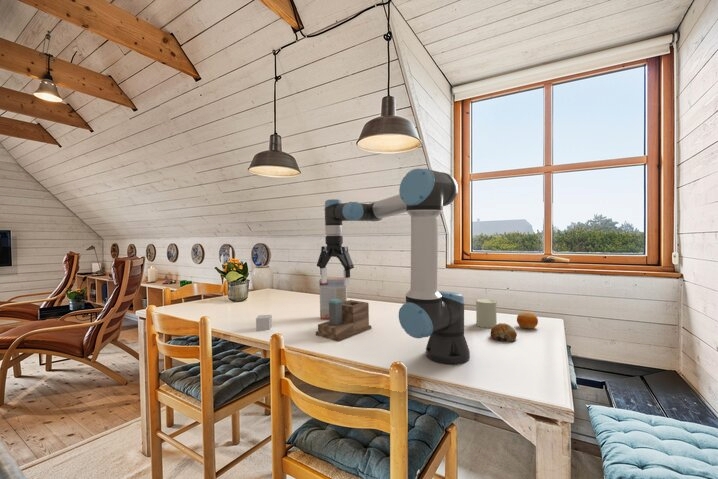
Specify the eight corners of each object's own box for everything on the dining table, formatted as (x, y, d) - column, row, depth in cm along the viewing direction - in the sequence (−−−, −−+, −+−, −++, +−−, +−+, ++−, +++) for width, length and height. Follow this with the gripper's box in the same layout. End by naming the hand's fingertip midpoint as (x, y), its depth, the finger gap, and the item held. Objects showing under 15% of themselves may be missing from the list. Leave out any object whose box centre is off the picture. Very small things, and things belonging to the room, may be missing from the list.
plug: (342, 331, 144) (341, 299, 143) (336, 333, 141) (335, 301, 140) (335, 329, 146) (335, 298, 146) (329, 331, 143) (328, 300, 143)
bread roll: (519, 349, 133) (524, 330, 135) (505, 342, 128) (510, 323, 130) (497, 342, 141) (502, 324, 143) (483, 336, 136) (488, 317, 138)
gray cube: (271, 327, 158) (271, 314, 158) (269, 330, 152) (269, 317, 152) (259, 327, 158) (258, 315, 158) (256, 331, 152) (256, 318, 152)
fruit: (538, 317, 153) (530, 304, 151) (543, 329, 145) (535, 315, 143) (520, 324, 156) (512, 311, 154) (524, 336, 148) (516, 322, 147)
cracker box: (347, 316, 175) (347, 277, 175) (346, 319, 169) (346, 279, 169) (321, 316, 176) (321, 277, 176) (319, 319, 170) (319, 279, 170)
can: (497, 328, 149) (497, 302, 149) (476, 327, 152) (476, 301, 151) (496, 323, 158) (495, 298, 157) (475, 321, 160) (475, 297, 160)
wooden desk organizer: (371, 328, 152) (371, 303, 151) (338, 341, 135) (338, 312, 135) (348, 323, 161) (348, 299, 160) (315, 335, 144) (315, 308, 144)
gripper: (361, 234, 137) (362, 285, 138) (320, 235, 153) (321, 280, 154) (349, 235, 132) (350, 287, 132) (308, 235, 148) (309, 282, 148)
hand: (335, 284), depth 143 cm, fingers open, 13 cm apart
